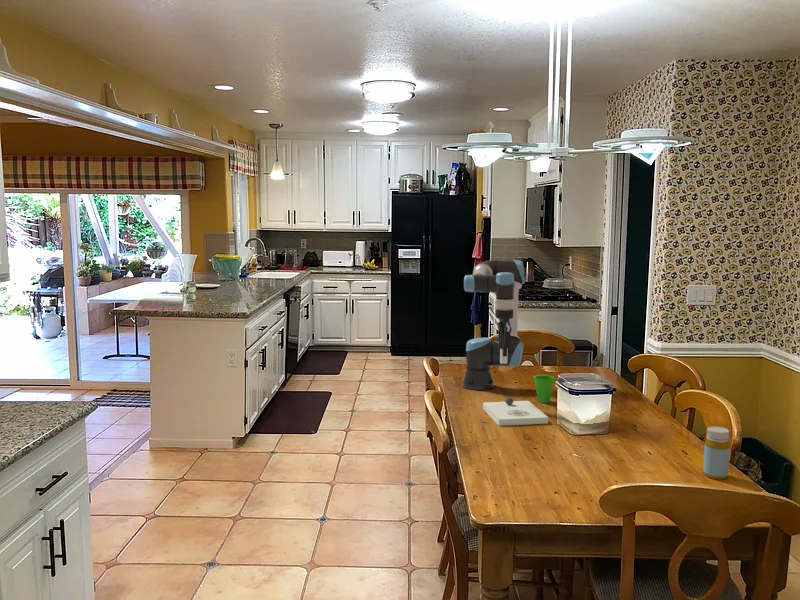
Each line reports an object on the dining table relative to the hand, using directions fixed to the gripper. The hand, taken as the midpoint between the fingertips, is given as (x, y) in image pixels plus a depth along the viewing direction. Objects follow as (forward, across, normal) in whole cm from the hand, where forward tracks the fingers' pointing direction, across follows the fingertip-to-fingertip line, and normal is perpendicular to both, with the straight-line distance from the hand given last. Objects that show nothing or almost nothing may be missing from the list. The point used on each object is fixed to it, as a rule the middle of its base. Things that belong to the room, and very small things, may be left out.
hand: (503, 363), depth 280 cm
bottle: (+19, +86, +43) cm, 98 cm away
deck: (+18, +16, 0) cm, 24 cm away
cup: (+19, -2, +19) cm, 27 cm away
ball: (+14, +9, 0) cm, 17 cm away
